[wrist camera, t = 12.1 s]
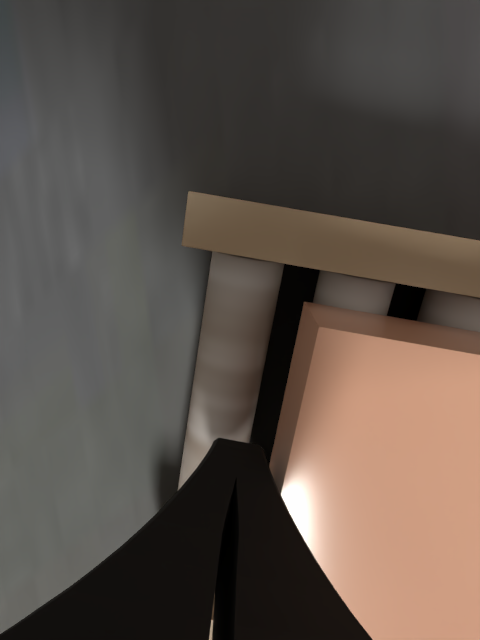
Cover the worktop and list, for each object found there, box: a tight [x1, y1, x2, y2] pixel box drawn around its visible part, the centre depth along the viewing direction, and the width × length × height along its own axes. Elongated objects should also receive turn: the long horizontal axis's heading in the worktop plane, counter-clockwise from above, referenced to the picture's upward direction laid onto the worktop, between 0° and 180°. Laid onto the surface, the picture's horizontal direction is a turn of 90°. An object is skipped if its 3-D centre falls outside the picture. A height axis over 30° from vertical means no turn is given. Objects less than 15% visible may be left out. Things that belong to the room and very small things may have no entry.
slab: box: [269, 302, 480, 640], centre depth 9 cm, size 9×10×2 cm
